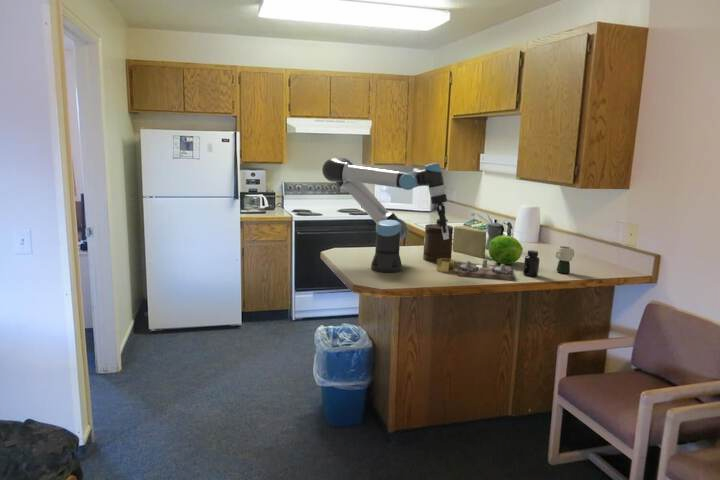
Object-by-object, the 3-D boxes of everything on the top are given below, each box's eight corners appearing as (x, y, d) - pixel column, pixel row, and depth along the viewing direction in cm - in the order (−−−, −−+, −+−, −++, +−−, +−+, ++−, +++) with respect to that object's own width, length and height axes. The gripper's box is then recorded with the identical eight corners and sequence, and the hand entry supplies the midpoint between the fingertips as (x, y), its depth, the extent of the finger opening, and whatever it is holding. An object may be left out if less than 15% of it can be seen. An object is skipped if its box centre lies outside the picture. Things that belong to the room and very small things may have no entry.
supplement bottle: (520, 274, 249) (522, 250, 247) (527, 272, 254) (529, 249, 252) (533, 277, 245) (536, 253, 242) (540, 275, 249) (543, 251, 247)
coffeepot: (480, 247, 312) (482, 217, 309) (493, 246, 316) (496, 217, 312) (494, 252, 298) (497, 222, 295) (508, 252, 301) (511, 221, 298)
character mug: (566, 270, 262) (569, 245, 259) (576, 274, 255) (579, 248, 253) (549, 271, 258) (552, 246, 256) (558, 275, 252) (562, 249, 249)
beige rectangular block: (490, 257, 285) (492, 231, 282) (477, 259, 280) (479, 232, 277) (464, 249, 304) (466, 224, 301) (451, 250, 299) (453, 225, 296)
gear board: (457, 275, 243) (458, 263, 242) (457, 265, 263) (458, 254, 261) (513, 280, 238) (515, 267, 237) (510, 270, 258) (511, 258, 257)
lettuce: (527, 269, 271) (535, 241, 267) (500, 268, 261) (507, 240, 257) (505, 258, 285) (512, 232, 281) (478, 258, 275) (485, 231, 271)
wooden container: (437, 255, 285) (439, 216, 281) (456, 260, 274) (459, 220, 269) (417, 258, 277) (419, 217, 272) (436, 264, 265) (439, 222, 261)
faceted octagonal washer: (436, 271, 250) (436, 261, 249) (436, 267, 258) (437, 257, 257) (453, 272, 248) (454, 262, 247) (453, 268, 256) (454, 259, 255)
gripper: (445, 194, 237) (454, 239, 240) (445, 191, 262) (453, 232, 264) (429, 198, 239) (438, 242, 241) (431, 194, 263) (439, 234, 265)
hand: (446, 237), depth 253 cm, fingers open, 13 cm apart
